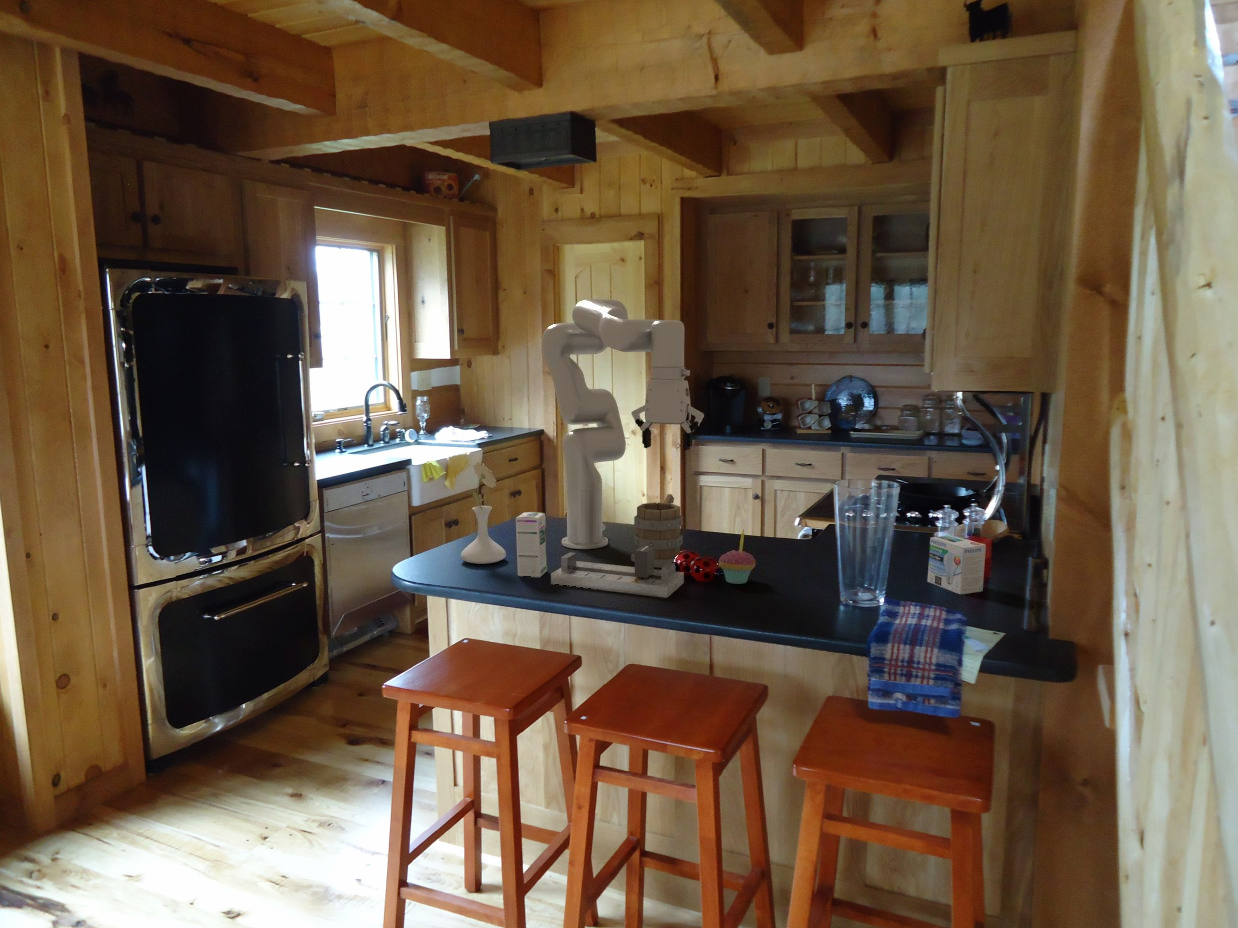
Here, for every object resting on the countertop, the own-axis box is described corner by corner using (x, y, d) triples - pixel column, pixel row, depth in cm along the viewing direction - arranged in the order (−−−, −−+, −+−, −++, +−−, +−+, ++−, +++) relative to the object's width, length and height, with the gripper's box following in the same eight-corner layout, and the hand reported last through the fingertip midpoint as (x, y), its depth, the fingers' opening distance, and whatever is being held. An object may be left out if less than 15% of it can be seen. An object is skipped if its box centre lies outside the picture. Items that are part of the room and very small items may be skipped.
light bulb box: (926, 582, 202) (928, 536, 200) (948, 578, 205) (951, 533, 203) (961, 595, 192) (964, 547, 191) (984, 591, 195) (987, 544, 193)
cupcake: (733, 573, 209) (734, 524, 207) (762, 581, 203) (764, 530, 201) (710, 581, 203) (711, 530, 201) (740, 588, 197) (741, 536, 195)
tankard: (675, 569, 213) (675, 509, 210) (626, 564, 217) (626, 505, 215) (696, 550, 231) (697, 494, 229) (651, 546, 236) (651, 491, 233)
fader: (641, 571, 201) (641, 545, 200) (653, 572, 200) (654, 546, 199) (634, 576, 197) (634, 549, 196) (647, 577, 196) (647, 551, 195)
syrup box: (540, 577, 206) (539, 517, 204) (516, 576, 207) (515, 516, 205) (547, 571, 211) (546, 512, 209) (523, 569, 212) (522, 511, 210)
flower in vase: (510, 565, 217) (508, 465, 213) (464, 569, 213) (461, 468, 209) (500, 552, 229) (498, 458, 225) (456, 556, 225) (453, 460, 221)
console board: (573, 570, 212) (572, 548, 211) (683, 582, 201) (683, 559, 201) (551, 584, 201) (550, 560, 200) (667, 597, 190) (667, 573, 190)
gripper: (708, 374, 201) (707, 448, 204) (637, 373, 207) (637, 444, 210) (699, 376, 194) (698, 452, 197) (626, 374, 201) (626, 448, 203)
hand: (666, 448), depth 203 cm, fingers open, 9 cm apart
